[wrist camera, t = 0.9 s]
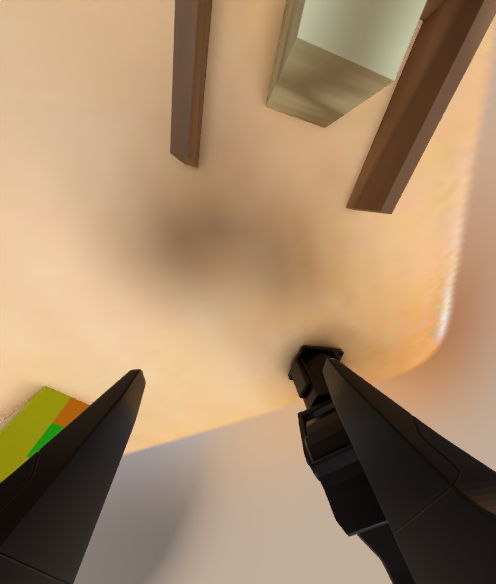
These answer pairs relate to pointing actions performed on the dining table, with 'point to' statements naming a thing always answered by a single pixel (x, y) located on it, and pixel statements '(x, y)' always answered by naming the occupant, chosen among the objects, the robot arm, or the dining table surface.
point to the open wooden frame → (399, 115)
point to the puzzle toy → (34, 427)
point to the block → (338, 54)
